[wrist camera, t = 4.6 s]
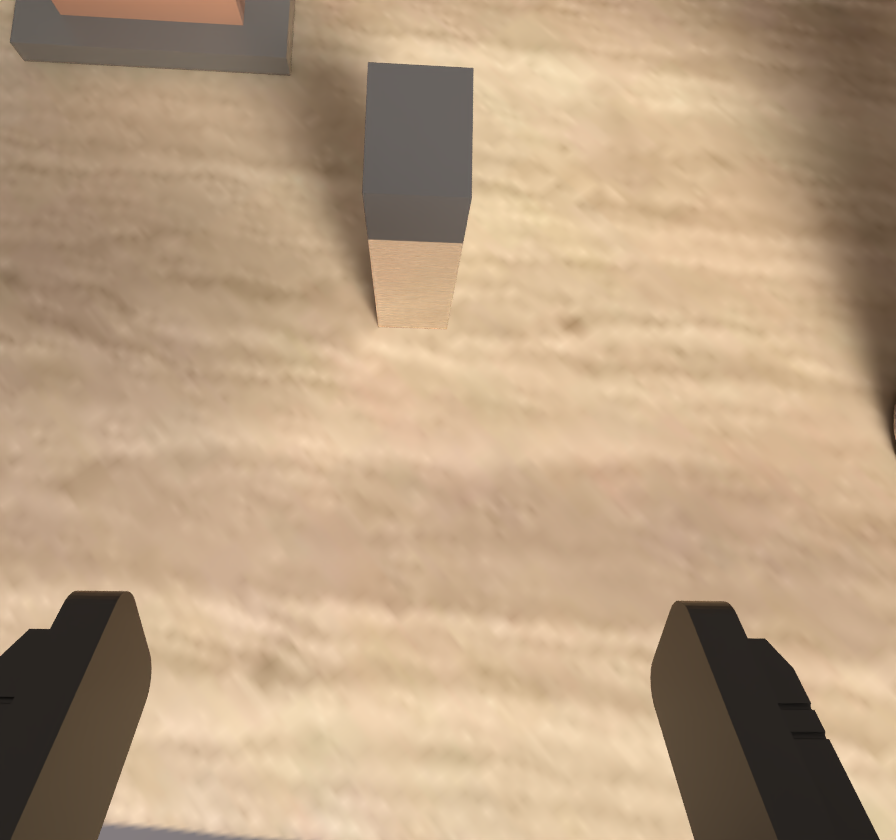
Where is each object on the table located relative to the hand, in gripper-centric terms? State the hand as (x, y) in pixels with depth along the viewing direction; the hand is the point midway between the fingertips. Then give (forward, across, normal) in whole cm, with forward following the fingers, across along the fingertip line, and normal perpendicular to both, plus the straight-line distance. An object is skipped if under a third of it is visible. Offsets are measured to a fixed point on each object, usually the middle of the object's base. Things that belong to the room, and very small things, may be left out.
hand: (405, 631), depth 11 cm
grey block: (+22, 0, +4) cm, 23 cm away
